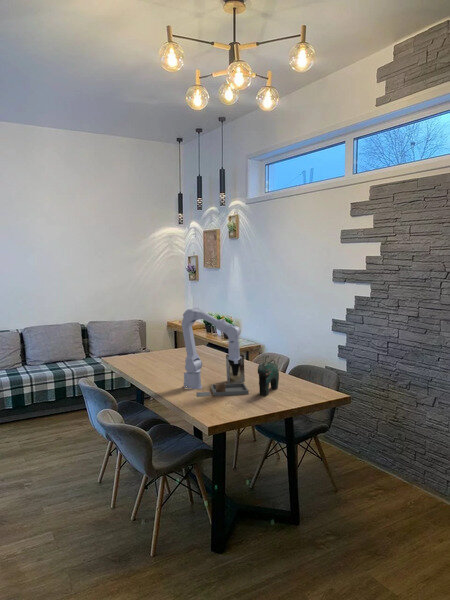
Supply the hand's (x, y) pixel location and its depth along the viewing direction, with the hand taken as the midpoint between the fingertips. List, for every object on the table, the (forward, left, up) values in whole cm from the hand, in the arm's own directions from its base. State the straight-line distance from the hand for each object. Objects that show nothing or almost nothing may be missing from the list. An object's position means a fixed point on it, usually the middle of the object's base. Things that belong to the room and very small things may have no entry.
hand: (234, 374), depth 235 cm
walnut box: (-8, -3, -9) cm, 12 cm away
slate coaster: (-17, -3, -9) cm, 20 cm away
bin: (-3, 0, -9) cm, 10 cm away
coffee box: (+3, +19, -10) cm, 21 cm away
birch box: (0, 0, -2) cm, 2 cm away
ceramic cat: (+17, -5, -10) cm, 20 cm away
